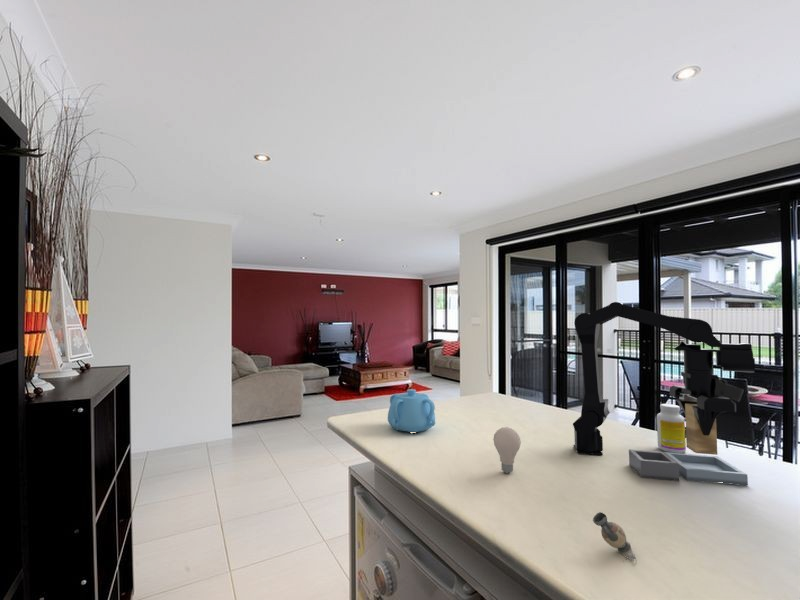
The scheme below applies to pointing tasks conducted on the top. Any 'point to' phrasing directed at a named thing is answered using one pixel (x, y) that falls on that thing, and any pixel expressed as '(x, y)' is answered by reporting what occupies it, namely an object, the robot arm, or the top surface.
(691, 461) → the tray
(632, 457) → the socket
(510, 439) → the light bulb
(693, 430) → the peg
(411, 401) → the decorative pot
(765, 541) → the top surface
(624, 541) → the vase
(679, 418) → the supplement bottle
